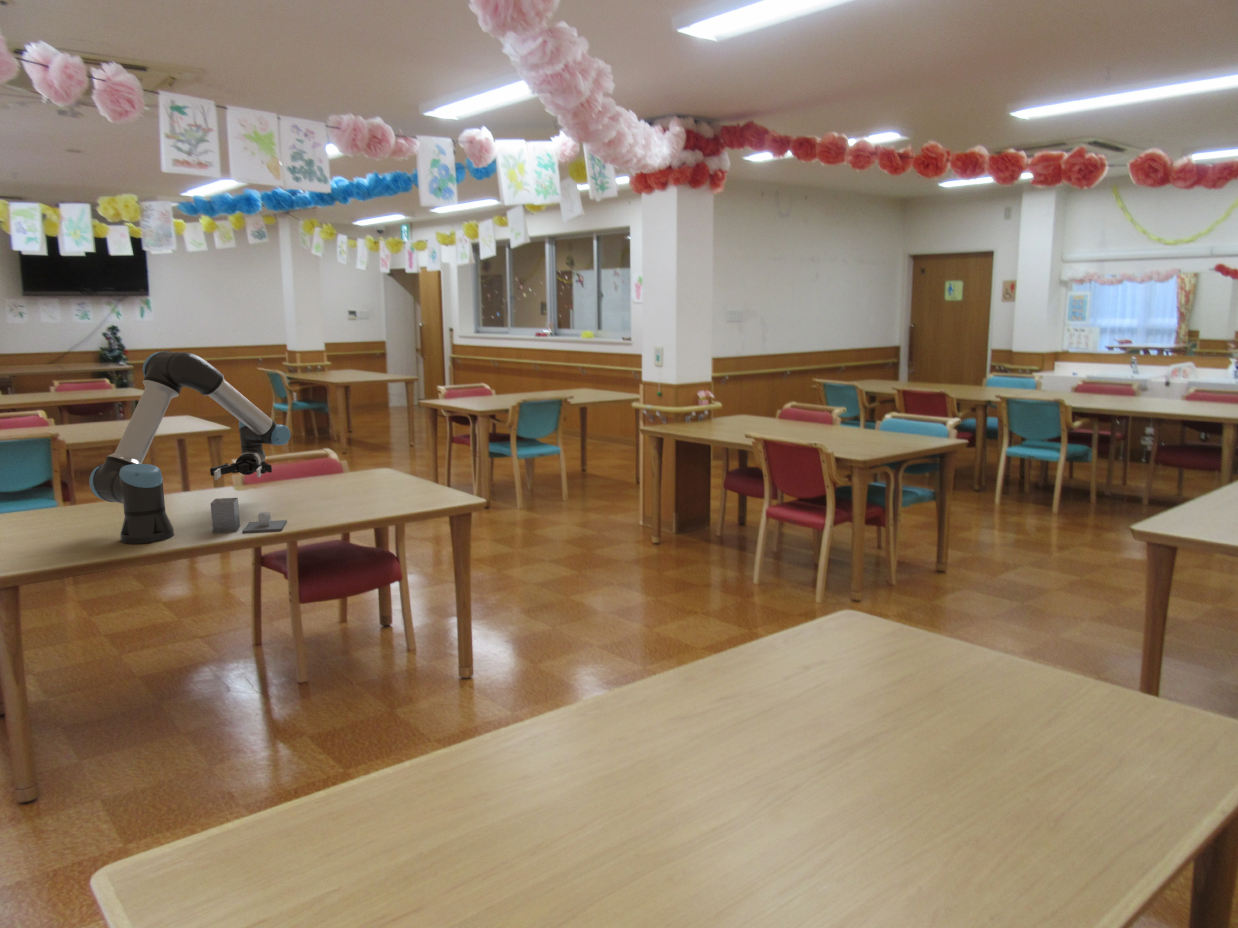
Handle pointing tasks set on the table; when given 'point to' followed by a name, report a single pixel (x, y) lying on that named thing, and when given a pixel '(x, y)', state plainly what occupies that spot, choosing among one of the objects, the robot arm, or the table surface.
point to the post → (264, 519)
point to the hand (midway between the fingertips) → (236, 474)
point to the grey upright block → (225, 515)
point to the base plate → (265, 527)
